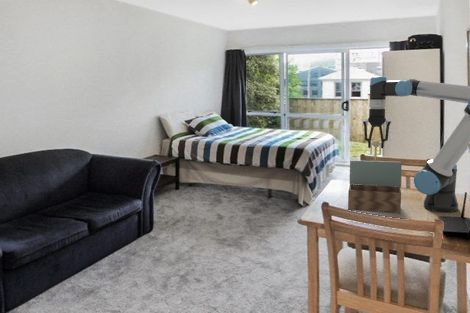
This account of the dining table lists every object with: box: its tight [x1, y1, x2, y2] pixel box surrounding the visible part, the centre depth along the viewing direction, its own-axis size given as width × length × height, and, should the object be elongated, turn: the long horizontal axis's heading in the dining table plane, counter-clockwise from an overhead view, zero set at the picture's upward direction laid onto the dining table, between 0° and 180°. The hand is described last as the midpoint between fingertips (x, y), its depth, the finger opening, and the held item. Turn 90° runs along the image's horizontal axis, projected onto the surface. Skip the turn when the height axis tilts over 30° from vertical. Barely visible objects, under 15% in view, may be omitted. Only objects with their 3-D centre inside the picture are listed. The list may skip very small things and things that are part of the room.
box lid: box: [349, 139, 403, 188], centre depth 203 cm, size 25×23×4 cm
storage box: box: [347, 184, 402, 214], centre depth 200 cm, size 24×12×10 cm, turn 71°
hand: (375, 154), depth 205 cm, fingers closed on box lid, 4 cm apart
